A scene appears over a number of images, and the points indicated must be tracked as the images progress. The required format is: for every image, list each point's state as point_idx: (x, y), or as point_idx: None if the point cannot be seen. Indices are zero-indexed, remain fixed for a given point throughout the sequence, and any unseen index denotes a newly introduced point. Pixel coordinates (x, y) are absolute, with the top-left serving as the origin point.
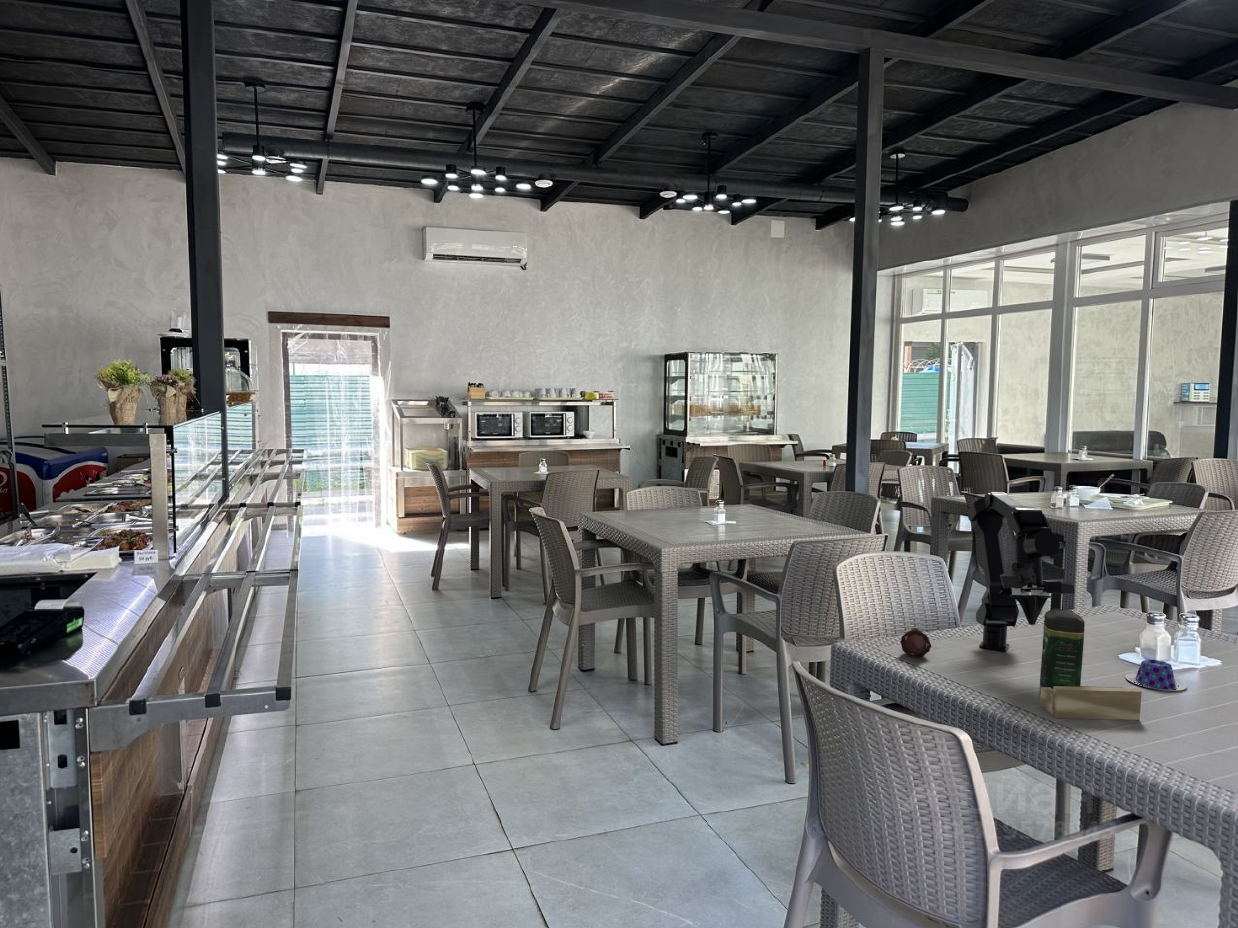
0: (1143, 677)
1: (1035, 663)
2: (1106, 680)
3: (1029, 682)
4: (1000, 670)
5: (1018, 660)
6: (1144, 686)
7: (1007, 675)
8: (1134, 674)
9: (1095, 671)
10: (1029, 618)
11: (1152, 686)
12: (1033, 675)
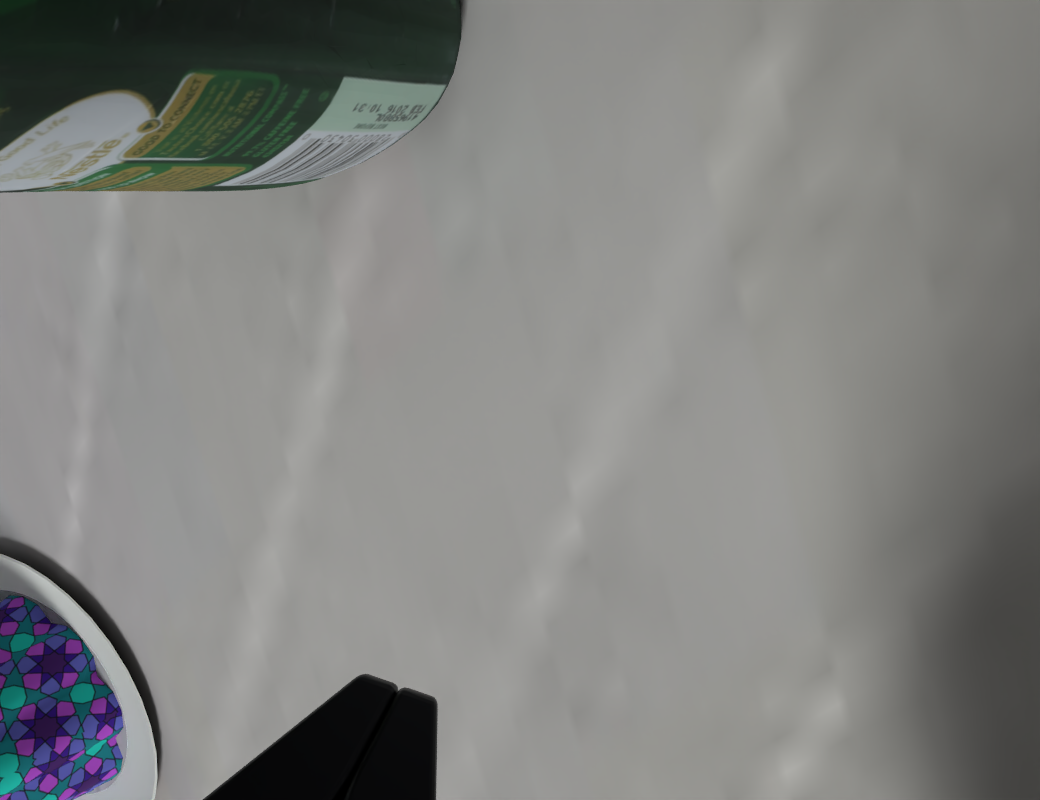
0: (22, 659)
1: (724, 760)
2: (203, 587)
3: (592, 49)
4: (996, 270)
5: (897, 783)
6: (23, 564)
7: (866, 121)
8: (143, 796)
9: None
10: (348, 781)
11: (10, 600)
12: (630, 342)
